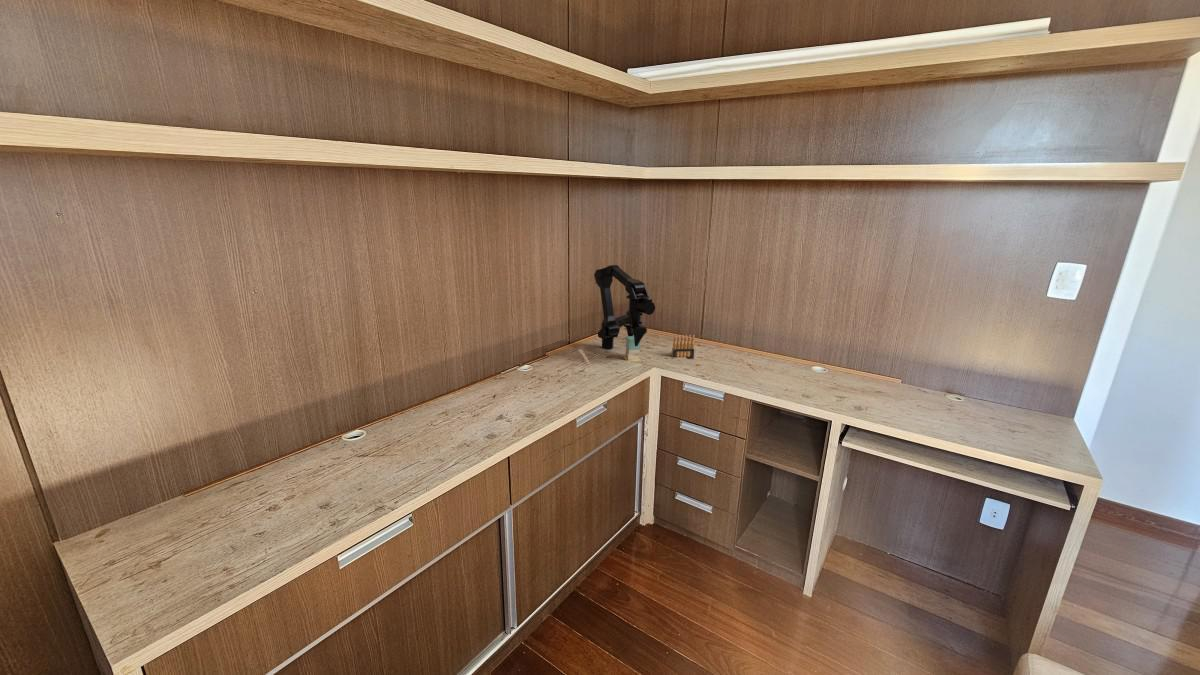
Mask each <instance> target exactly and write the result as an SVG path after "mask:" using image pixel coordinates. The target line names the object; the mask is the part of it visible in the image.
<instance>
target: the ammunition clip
mask: <svg viewBox="0 0 1200 675" xmlns="http://www.w3.org/2000/svg"><path fill="white" fill-rule="evenodd" d="M670 356H671V358H675V359H676V358H686V359H687V360H695V359H694V358H695V357H694V356H695V334H692V337H691V334H689V335H687V334H685V336H684V334H682V335H680V334H678V336H677V334H674V337H673V342H672V350H671V355H670Z"/></svg>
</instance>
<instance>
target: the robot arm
mask: <svg viewBox="0 0 1200 675" xmlns="http://www.w3.org/2000/svg"><path fill="white" fill-rule="evenodd" d="M593 275H594V276H593V278H594V280H595V283H596V286H598V288H599V292H600V296H601V297H600V298H601V305H602V306H601V307H602V313H603V320H602V322H601V329H600V330H598V332H597V336H598V338H600V339H601V348H602V349H604V350H607V351H608V350H611V351H612V350H613V349H614V338H618V337H619V334H620V331H621V328H622V327H624V328H625V329H626V333H627V336H634V344H635V346H638V344H639V342H640V343H641V340H642V339H643V337H644V336H645V335H646V334H647V333H648V332H647V331H648V329H647V327H646V326H644V325H643V322H642V321H641V319H642V316H643V314H645V315H648V316H651V315H652V314H654V312H655V310H656V305H655V303H654V302H653V298H650V296H649V292H648V291H647V288H646V285H645V283H644V282H643V281H641V280H639V279H636V278H633V277H631V275H629V274H628V273H626V271H624V270H623V269H622V268H621V267H620V266H619V265H617V264H610V265H607V266H606V267H602V268H601V269H600V268H599V269H598V268H597V269H596V270H595V271H594V274H593ZM613 279H616V280H617V281H618V282H619V283H620V284H622V285H623V286H624V288H625V289H624V290H625V291H626V293H627V294H628V295H626V299H628V310H627V311H626V314H623V315H620V316H618V317H616V316H615V312H614V304H613V298H612V289H611V286H612V283H613V281H614V280H613Z"/></svg>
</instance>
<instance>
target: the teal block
mask: <svg viewBox="0 0 1200 675" xmlns="http://www.w3.org/2000/svg"><path fill="white" fill-rule="evenodd" d="M640 347H641V341H640V342H639V344H638V346H635V344H634V335H633V336H628V335H627V336H626V338H625V349H626V348H627V349H628V350H639V351H640Z"/></svg>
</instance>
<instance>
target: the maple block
mask: <svg viewBox="0 0 1200 675" xmlns="http://www.w3.org/2000/svg"><path fill="white" fill-rule="evenodd" d="M624 355H625V356H624V357H626V359H627V360H628V361H627V362H633V361H632V360H639V359H640V350H628V349H627V348H626V347H625V354H624ZM626 359H625V360H626Z"/></svg>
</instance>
